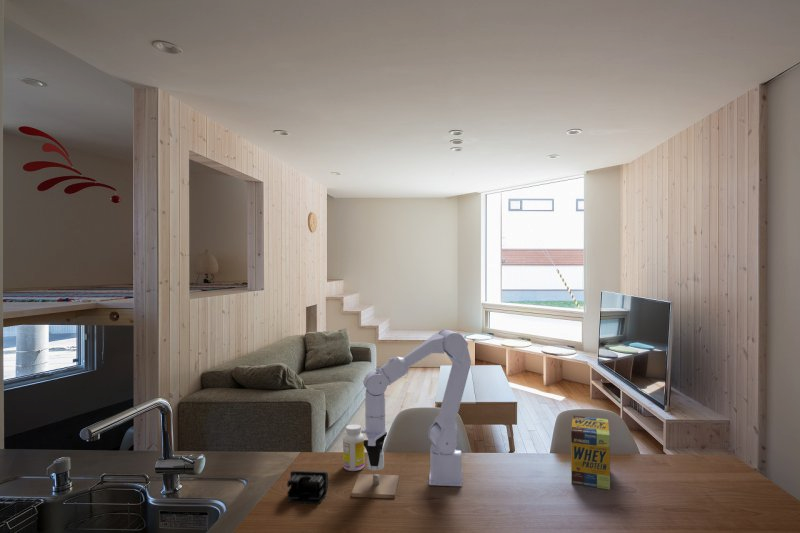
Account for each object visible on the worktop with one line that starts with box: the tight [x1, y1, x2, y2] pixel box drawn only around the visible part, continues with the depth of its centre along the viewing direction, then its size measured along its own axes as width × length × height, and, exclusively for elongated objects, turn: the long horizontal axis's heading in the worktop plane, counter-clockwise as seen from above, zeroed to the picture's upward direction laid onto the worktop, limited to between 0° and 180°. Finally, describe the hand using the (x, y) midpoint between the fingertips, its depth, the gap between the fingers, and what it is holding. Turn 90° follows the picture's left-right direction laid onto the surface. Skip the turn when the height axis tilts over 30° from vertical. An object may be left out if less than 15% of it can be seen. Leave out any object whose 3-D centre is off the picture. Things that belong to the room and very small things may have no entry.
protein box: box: [570, 415, 611, 490], centre depth 142 cm, size 10×15×16 cm
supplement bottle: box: [342, 423, 366, 472], centre depth 150 cm, size 7×7×13 cm
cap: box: [366, 449, 385, 471], centre depth 137 cm, size 5×5×5 cm
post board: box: [350, 473, 400, 499], centre depth 137 cm, size 12×12×3 cm
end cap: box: [286, 470, 329, 505], centre depth 131 cm, size 10×7×7 cm
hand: (375, 461), depth 137 cm, fingers closed on cap, 5 cm apart
